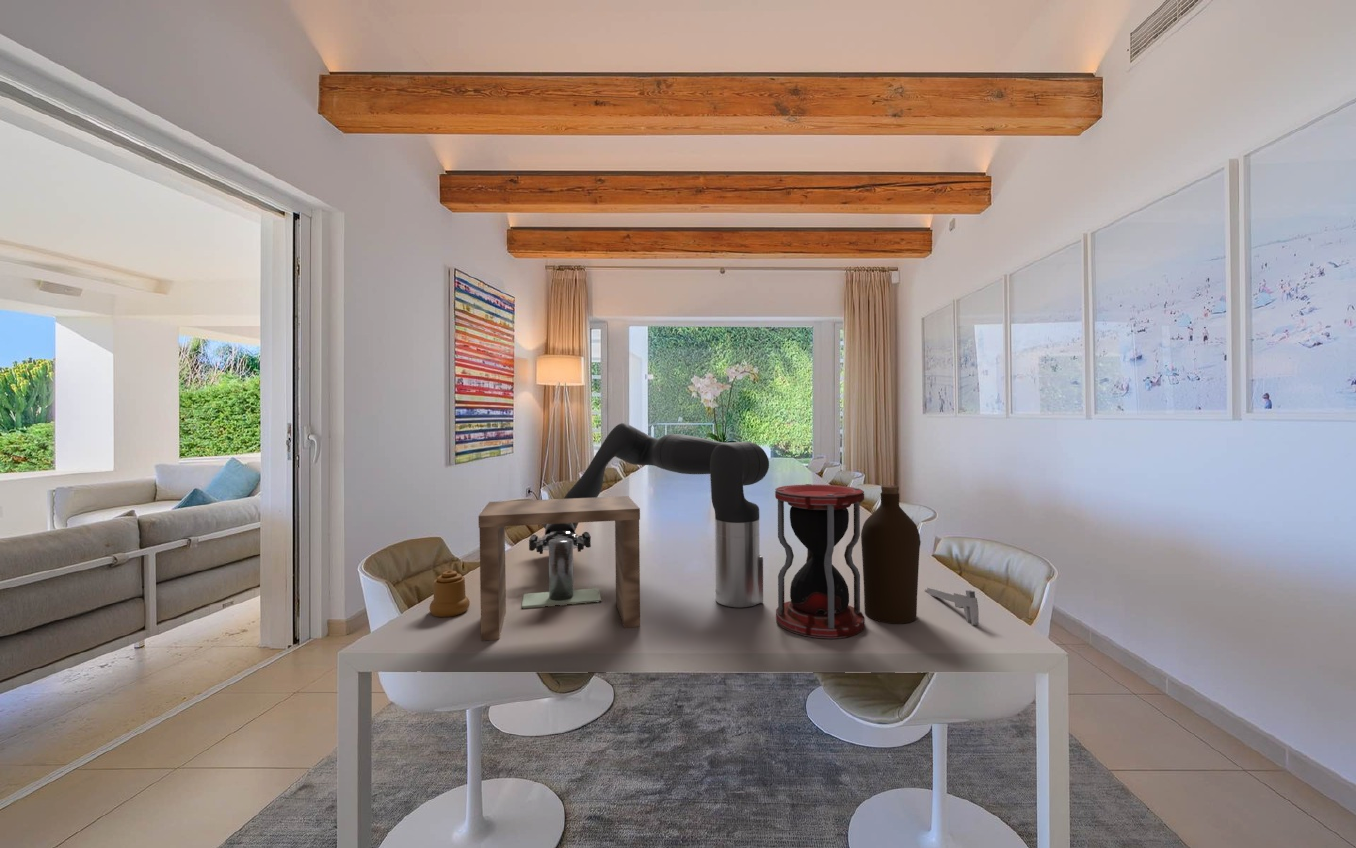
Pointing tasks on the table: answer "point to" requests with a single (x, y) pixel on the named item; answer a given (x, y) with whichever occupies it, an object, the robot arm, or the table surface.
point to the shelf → (556, 513)
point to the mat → (578, 597)
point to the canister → (560, 569)
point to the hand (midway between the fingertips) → (560, 548)
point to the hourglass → (819, 561)
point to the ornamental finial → (449, 595)
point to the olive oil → (890, 561)
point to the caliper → (960, 602)
